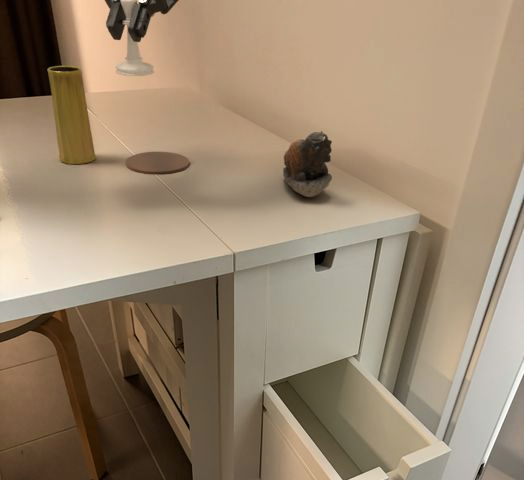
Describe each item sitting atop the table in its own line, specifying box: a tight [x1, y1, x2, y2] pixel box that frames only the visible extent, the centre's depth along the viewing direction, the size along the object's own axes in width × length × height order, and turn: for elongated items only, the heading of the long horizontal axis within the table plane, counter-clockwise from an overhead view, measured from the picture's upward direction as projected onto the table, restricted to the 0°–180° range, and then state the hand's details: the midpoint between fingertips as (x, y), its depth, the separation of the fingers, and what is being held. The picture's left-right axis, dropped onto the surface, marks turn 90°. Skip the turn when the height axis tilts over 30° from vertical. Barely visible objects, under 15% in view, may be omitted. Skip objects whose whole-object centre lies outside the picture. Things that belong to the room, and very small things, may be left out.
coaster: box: [124, 151, 190, 175], centre depth 96 cm, size 11×11×1 cm
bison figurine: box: [282, 130, 333, 198], centre depth 86 cm, size 12×7×10 cm, turn 14°
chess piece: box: [115, 0, 155, 77], centre depth 69 cm, size 5×5×10 cm
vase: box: [47, 65, 97, 165], centre depth 92 cm, size 6×6×14 cm
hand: (123, 35), depth 68 cm, fingers closed on chess piece
